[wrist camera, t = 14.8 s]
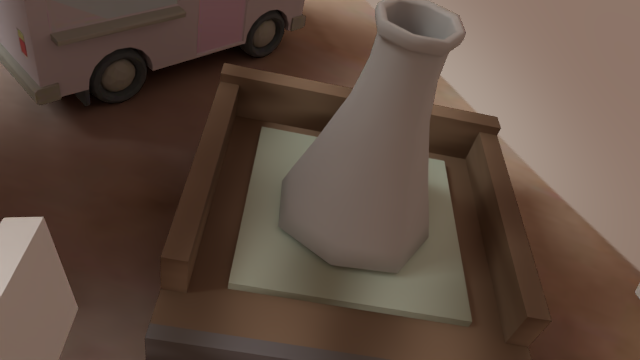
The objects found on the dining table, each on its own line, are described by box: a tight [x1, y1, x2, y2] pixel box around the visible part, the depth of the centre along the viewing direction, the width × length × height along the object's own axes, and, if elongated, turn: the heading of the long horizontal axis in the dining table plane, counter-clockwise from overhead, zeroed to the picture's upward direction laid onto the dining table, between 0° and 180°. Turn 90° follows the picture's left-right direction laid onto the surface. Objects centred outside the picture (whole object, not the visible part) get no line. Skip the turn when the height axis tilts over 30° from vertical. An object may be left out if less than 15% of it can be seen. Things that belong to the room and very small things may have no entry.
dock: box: [145, 63, 552, 360], centre depth 26 cm, size 15×15×6 cm
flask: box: [278, 0, 466, 273], centre depth 22 cm, size 7×7×10 cm
